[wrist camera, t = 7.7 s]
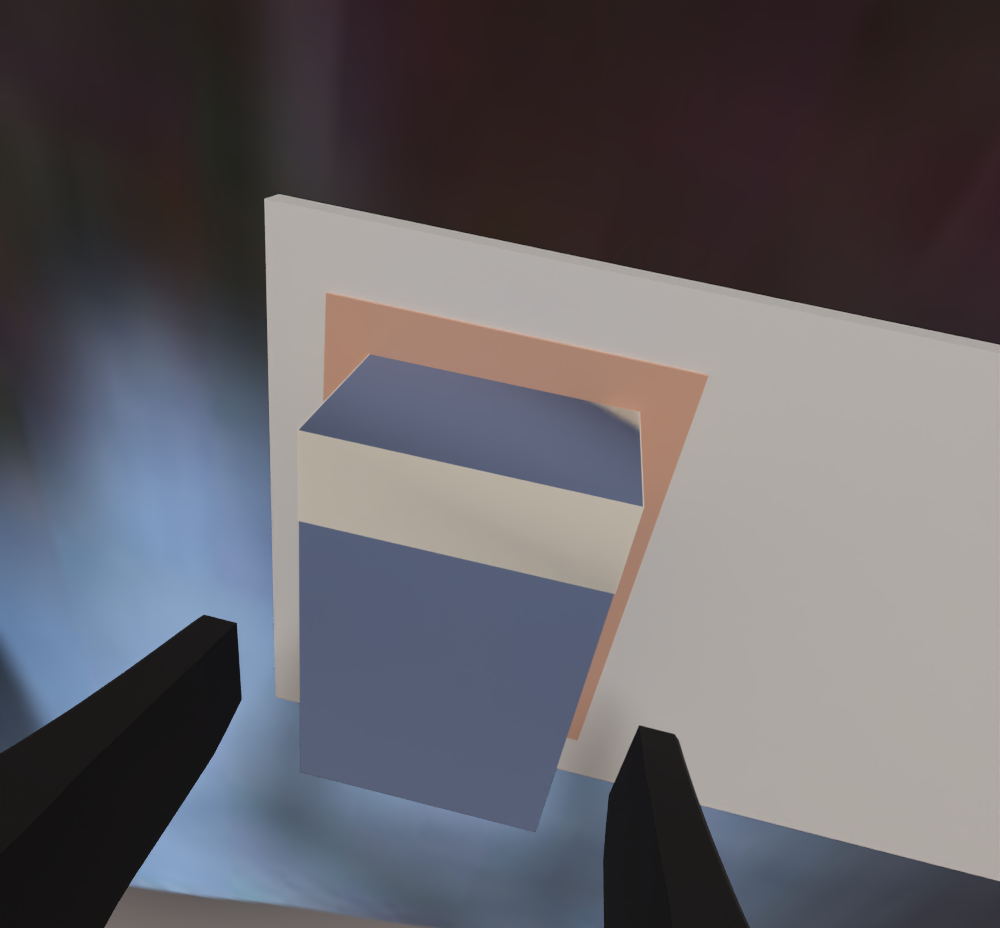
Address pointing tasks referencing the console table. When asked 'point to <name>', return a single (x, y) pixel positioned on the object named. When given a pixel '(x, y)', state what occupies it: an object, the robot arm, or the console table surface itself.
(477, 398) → the card deck
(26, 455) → the console table surface
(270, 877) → the console table surface
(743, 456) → the mat
